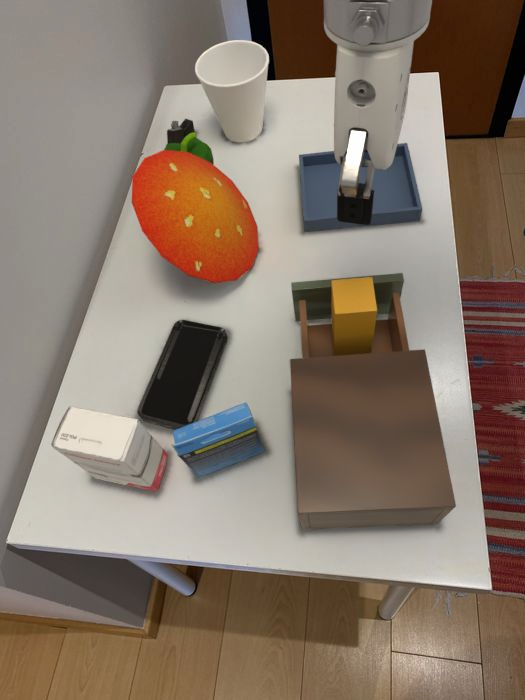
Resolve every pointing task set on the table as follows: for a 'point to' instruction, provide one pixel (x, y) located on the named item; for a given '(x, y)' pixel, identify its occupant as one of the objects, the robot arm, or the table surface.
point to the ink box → (111, 448)
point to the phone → (183, 374)
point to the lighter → (179, 131)
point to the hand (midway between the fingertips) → (364, 184)
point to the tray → (389, 185)
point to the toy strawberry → (195, 216)
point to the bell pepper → (192, 147)
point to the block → (353, 315)
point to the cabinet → (368, 442)
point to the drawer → (316, 305)
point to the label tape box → (218, 440)
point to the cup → (236, 86)
